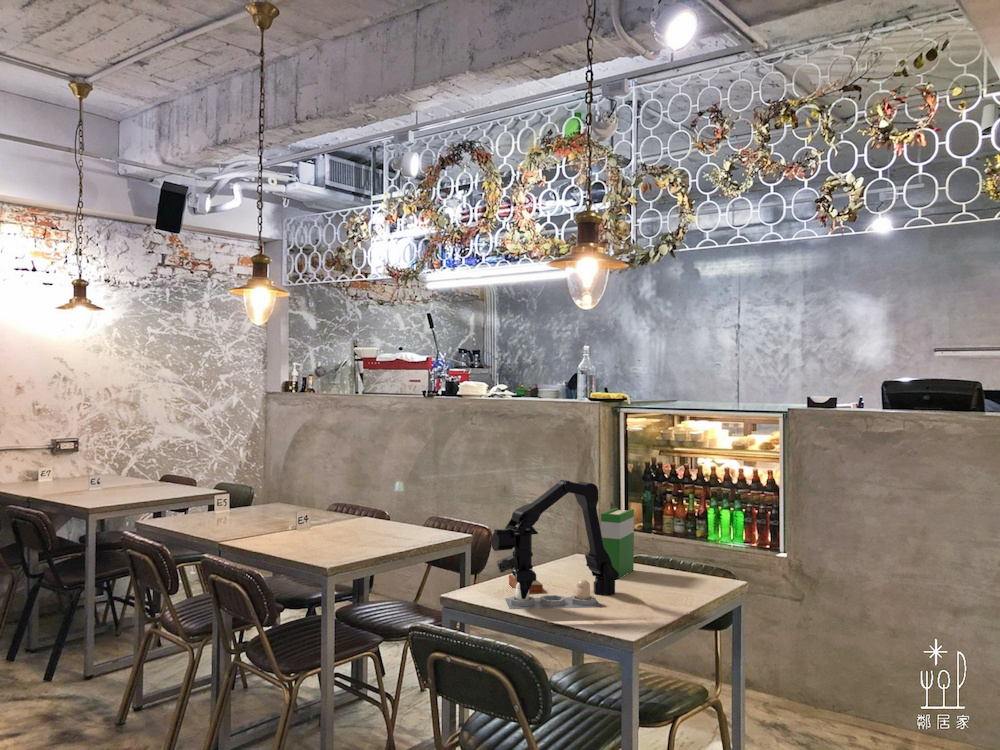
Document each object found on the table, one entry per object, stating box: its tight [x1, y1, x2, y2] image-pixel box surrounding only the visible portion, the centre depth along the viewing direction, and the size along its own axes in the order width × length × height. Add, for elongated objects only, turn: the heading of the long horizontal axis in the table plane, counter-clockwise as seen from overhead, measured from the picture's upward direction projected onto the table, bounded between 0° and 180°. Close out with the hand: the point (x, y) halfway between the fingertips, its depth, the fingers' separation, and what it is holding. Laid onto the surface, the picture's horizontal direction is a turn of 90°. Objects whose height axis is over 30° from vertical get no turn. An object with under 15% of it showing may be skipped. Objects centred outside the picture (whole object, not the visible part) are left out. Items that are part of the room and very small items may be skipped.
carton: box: [508, 574, 544, 594], centre depth 274 cm, size 8×16×4 cm, turn 14°
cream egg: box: [515, 583, 530, 601], centre depth 252 cm, size 4×4×7 cm
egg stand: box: [504, 594, 603, 610], centre depth 253 cm, size 30×13×2 cm, turn 96°
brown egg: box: [575, 579, 591, 600], centre depth 254 cm, size 4×4×7 cm
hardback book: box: [600, 507, 635, 580], centre depth 301 cm, size 18×7×24 cm, turn 153°
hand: (522, 596), depth 252 cm, fingers closed on cream egg, 4 cm apart
